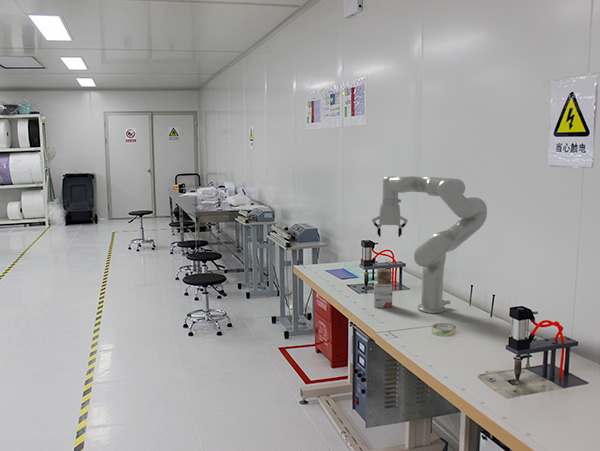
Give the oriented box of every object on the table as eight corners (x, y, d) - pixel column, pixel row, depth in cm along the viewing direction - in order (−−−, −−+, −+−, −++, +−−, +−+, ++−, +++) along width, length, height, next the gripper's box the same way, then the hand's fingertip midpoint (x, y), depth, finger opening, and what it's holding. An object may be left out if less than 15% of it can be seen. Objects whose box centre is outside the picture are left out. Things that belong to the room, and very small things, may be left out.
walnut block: (389, 281, 260) (389, 268, 259) (390, 284, 254) (390, 271, 253) (377, 280, 260) (377, 268, 259) (377, 283, 254) (378, 271, 253)
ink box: (391, 304, 261) (392, 281, 259) (392, 307, 256) (392, 283, 254) (373, 304, 262) (373, 280, 260) (373, 307, 257) (374, 283, 255)
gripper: (407, 201, 265) (406, 235, 268) (372, 200, 266) (371, 235, 269) (409, 202, 258) (408, 237, 260) (372, 202, 259) (372, 237, 261)
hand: (389, 236), depth 264 cm, fingers open, 9 cm apart
